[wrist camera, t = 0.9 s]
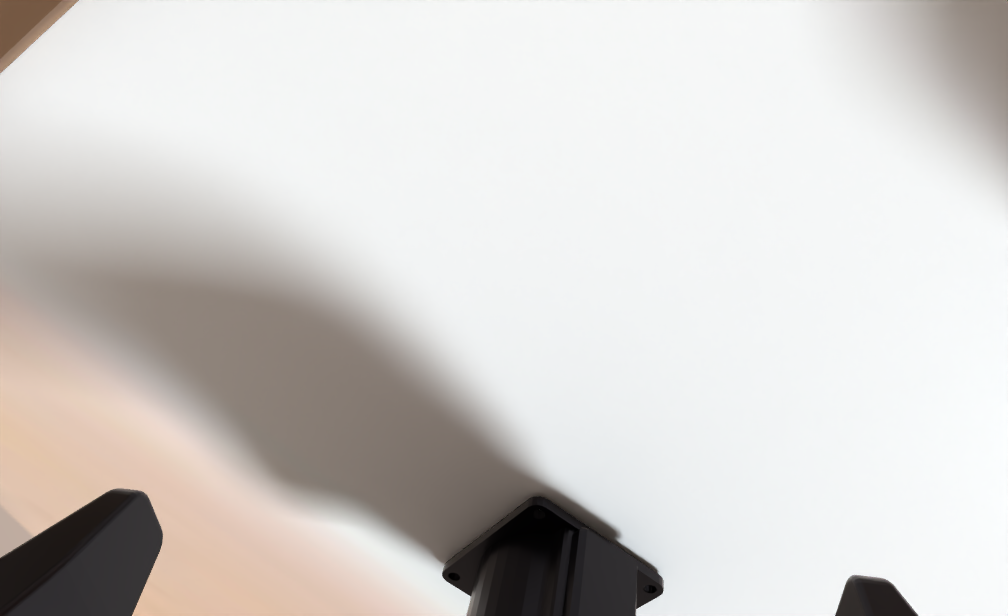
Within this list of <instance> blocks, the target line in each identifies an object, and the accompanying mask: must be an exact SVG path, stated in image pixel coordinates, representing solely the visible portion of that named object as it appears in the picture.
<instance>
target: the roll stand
mask: <svg viewBox="0 0 1008 616" xmlns="http://www.w3.org/2000/svg"><path fill="white" fill-rule="evenodd" d="M78 1H79V0H0V73H1V72H2V71H3V70H4V69H6V68H7V67H8V66H9V65H10V64H11V63H12V62H13V61H14V60H15V59H16V58H17V57H18V56H20V55H21V54H22V53H23V52H24V51H25V50H26V49H27V48H28V47H29V46H30V45H31V44H32V43H33V42H35V41H36V40H37V39H38V38H39V37H40V36H41V35H42V34H43V33H44V32H45V31H46V30H47V29H49V28H50V27H51V26H52V25H53V24H54V23H55V22H56V21H57V20H58V19H59V18H60V17H61V16H62V15H64V14H65V13H66V12H67V11H68V10H69V9H70V8H71V7H72V6H73V5H74V4H75V3H76V2H78Z"/></svg>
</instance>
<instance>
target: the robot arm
mask: <svg viewBox="0 0 1008 616" xmlns="http://www.w3.org/2000/svg"><path fill="white" fill-rule="evenodd" d="M538 510H541V511H538ZM162 539H163V533H162V529H161V526H160V524H159V521H158V519H157V517H156V514H155V512H154V509H153V507H152V505H151V502H150V500H149V498H148V496H147V495H146V494H145V493H144V492H142V491H138V490H130V489H113V490H110V491H108V492H106V493H105V494H103V495H101V496H100V497H98V498H97V499H95V500H93V501H92V502H90V503H89V504H87V505H85V506H84V507H82V508H80V509H79V510H77V511H76V512H74V513H72V514H71V515H69V516H67V517H66V518H64V519H63V520H61V521H59V522H58V523H56V524H54V525H53V526H51V527H50V528H48V529H46V530H45V531H43V532H41V533H40V534H38V535H37V536H35V537H33V538H32V539H30V540H29V541H27V542H25V543H24V544H22V545H20V546H19V547H17V548H16V549H14V550H13V551H11V552H9V553H7V554H6V555H4V556H2V557H1V558H0V616H132V614H133V612H134V610H135V607H136V605H137V603H138V600H139V598H140V596H141V593H142V591H143V589H144V586H145V584H146V582H147V579H148V577H149V575H150V573H151V570H152V568H153V566H154V563H155V561H156V559H157V556H158V554H159V552H160V549H161V545H162ZM442 576H443V578H444V579H445V580H446V581H447V582H449V583H450V584H452V585H453V586H455V587H457V588H458V589H460V590H461V591H463V592H465V593H466V594H468V595H470V596H471V600H470V604H469V608H468V612H467V616H636V609H637V608H639V607H641V606H643V605H644V604H646V603H648V602H650V601H651V600H653V599H655V598H657V597H658V596H660V595H661V594H662V593H663V578H662V577H661V576H660V575H659V574H657V573H656V572H654V571H653V570H651V569H650V568H648V567H647V566H645V565H644V564H642V563H641V562H639V561H638V560H636V559H635V558H634V557H632V556H631V555H629V554H628V553H626V552H625V551H623V550H622V549H620V548H619V547H617V546H616V545H614V544H613V543H611V542H610V541H608V540H607V539H606V538H604V537H603V536H601V535H600V534H598V533H597V532H595V531H594V530H592V529H591V528H589V527H588V526H586V525H585V524H583V523H582V522H580V521H579V520H577V519H576V518H575V517H573V516H572V515H570V514H569V513H567V512H566V511H564V510H563V509H561V508H560V507H558V506H557V505H555V504H554V503H552V502H551V501H549V500H548V499H546V498H544V497H532V498H530V499H529V500H527V501H526V502H525V503H523V504H522V505H521V506H520V507H518V508H517V509H516V510H514V511H513V512H512V513H510V514H509V515H508V516H506V517H505V518H504V519H503V520H501V521H500V522H499V523H497V524H496V525H495V526H493V527H492V528H491V529H489V530H488V531H487V532H485V533H484V534H483V535H482V536H480V537H479V538H478V539H476V540H475V541H474V542H472V543H471V544H470V545H468V546H467V547H466V548H465V549H463V550H462V551H461V552H459V553H458V554H457V555H455V556H454V557H453V558H451V559H450V560H449V561H448V562H446V564H445V566H444V569H443V573H442ZM835 616H918V615H917V613H916V612H915V611H914V610H913V608H912V607H911V606H910V605H909V603H908V602H907V601H906V600H905V598H904V597H903V596H902V595H901V594H900V592H899V591H898V590H897V589H896V587H895V586H894V585H893V584H892V583H891V582H889V581H888V580H886V579H883V578H877V577H868V576H860V575H853V576H851V577H850V578H849V579H848V580H847V582H846V585H845V588H844V591H843V594H842V597H841V600H840V603H839V606H838V609H837V612H836V615H835Z"/></svg>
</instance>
